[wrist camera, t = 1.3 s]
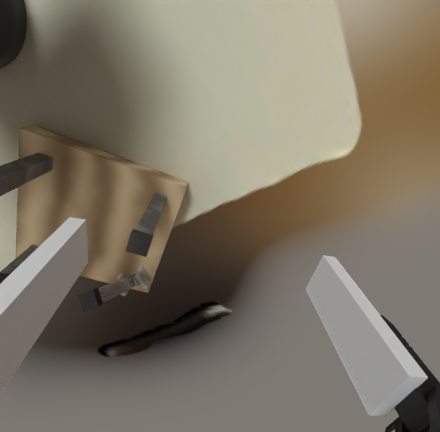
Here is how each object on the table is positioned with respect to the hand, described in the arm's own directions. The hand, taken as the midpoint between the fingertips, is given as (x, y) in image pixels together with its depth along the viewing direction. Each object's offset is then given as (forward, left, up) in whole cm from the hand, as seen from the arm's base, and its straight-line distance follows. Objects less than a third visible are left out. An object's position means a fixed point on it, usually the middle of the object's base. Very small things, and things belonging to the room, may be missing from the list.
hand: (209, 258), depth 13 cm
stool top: (-13, -18, -28) cm, 36 cm away
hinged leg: (-7, -24, -20) cm, 32 cm away
